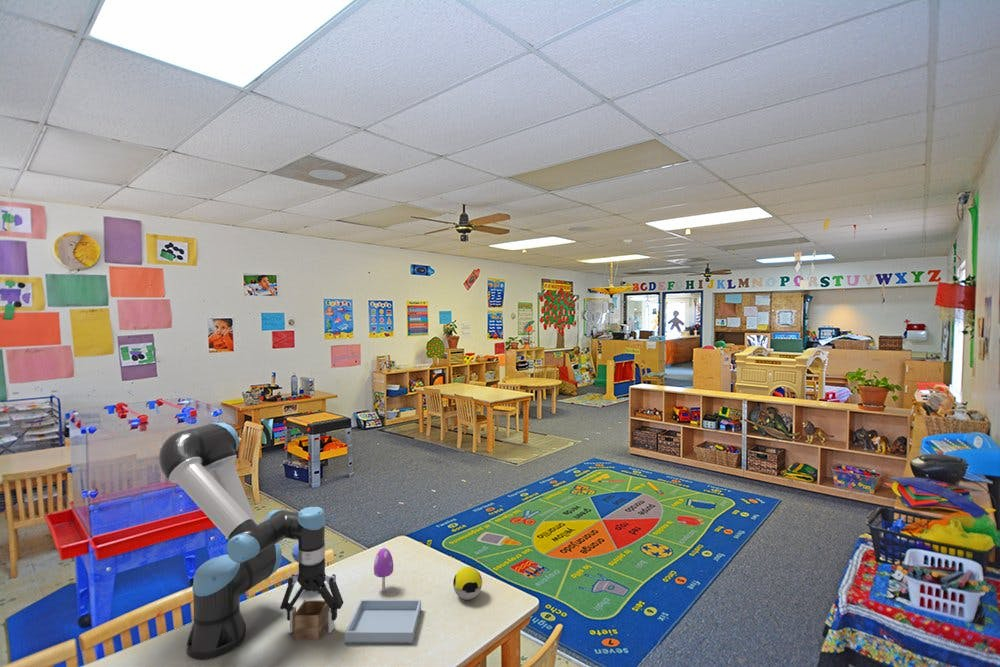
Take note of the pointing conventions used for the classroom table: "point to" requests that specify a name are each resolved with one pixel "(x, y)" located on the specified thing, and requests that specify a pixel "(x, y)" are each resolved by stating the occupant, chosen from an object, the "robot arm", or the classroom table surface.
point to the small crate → (311, 620)
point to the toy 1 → (383, 565)
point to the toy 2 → (467, 583)
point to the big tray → (384, 622)
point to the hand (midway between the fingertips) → (312, 629)
